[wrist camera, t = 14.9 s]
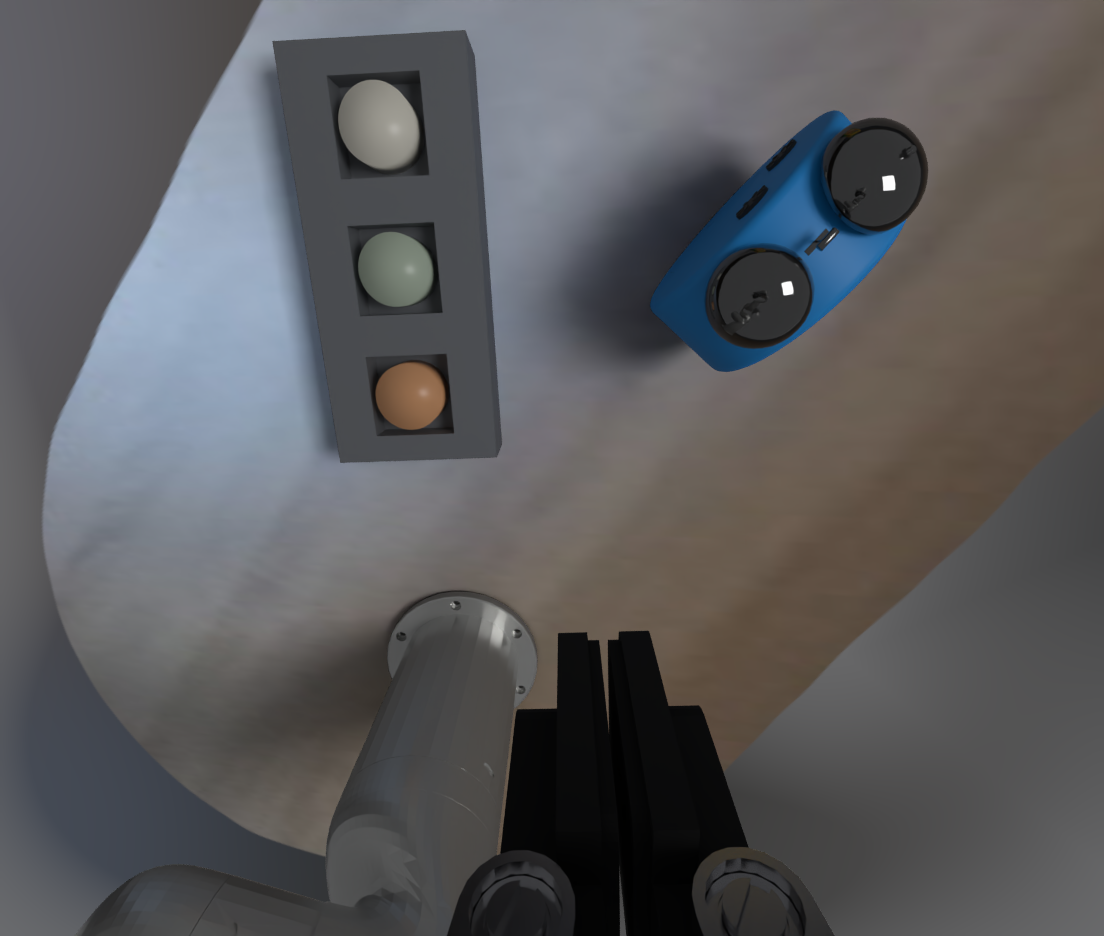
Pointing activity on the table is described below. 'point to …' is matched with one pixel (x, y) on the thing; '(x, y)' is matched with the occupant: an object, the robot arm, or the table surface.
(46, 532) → the table surface
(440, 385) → the terracotta button
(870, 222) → the alarm clock
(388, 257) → the sage button
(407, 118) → the cream button
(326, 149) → the button panel
